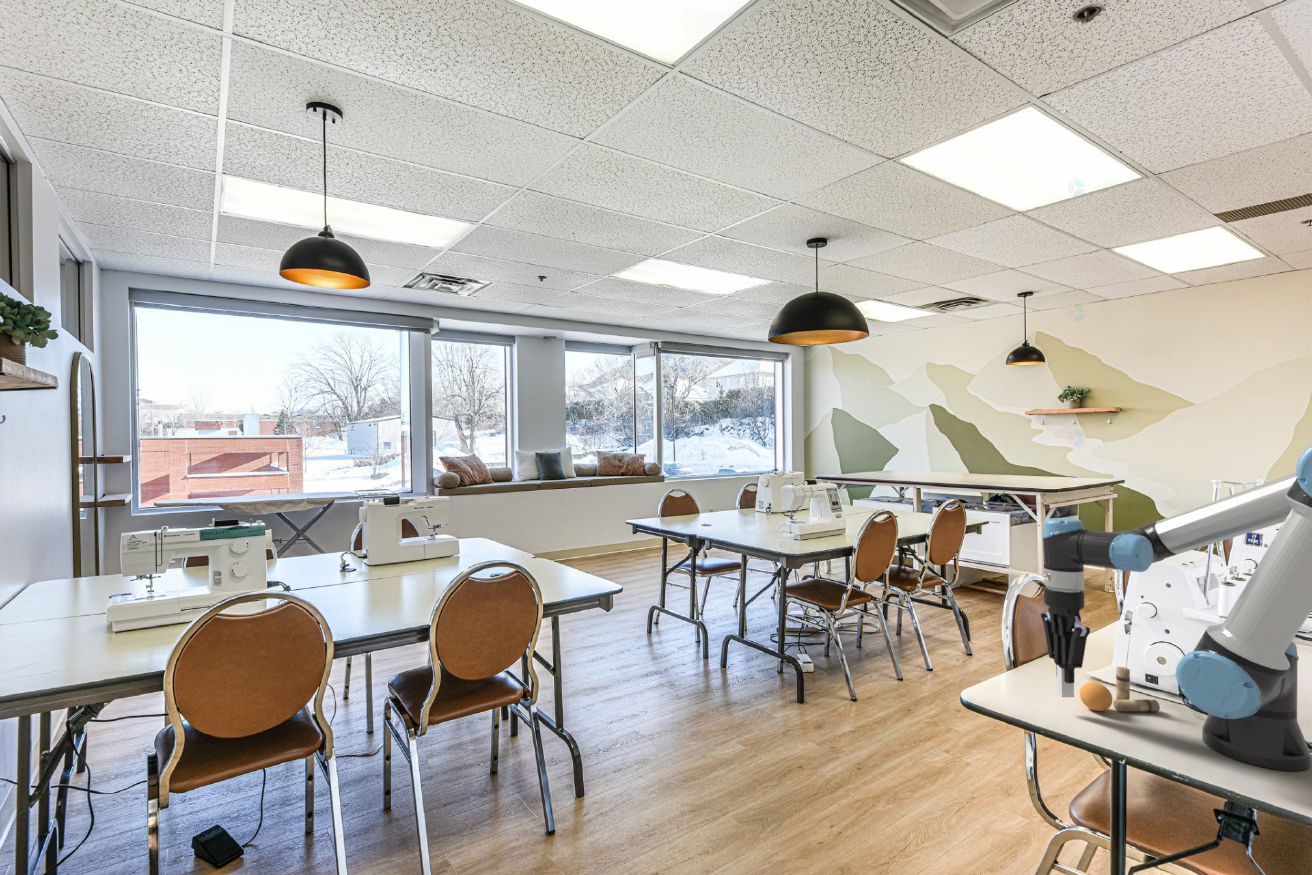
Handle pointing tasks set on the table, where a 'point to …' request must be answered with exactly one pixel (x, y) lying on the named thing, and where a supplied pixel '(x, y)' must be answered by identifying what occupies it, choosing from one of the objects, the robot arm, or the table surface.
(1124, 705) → the pin
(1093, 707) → the orange egg
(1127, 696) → the pin
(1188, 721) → the table surface
